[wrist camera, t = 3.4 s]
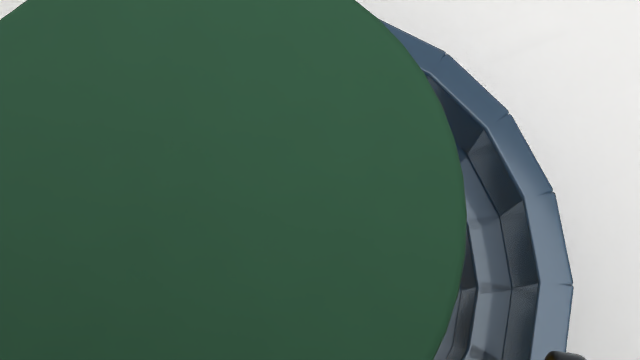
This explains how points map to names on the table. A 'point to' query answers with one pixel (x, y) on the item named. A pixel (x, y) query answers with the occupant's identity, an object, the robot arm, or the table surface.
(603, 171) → the table surface
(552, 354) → the robot arm
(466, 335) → the bowl
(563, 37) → the table surface
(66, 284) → the green-capped yellow cylinder
